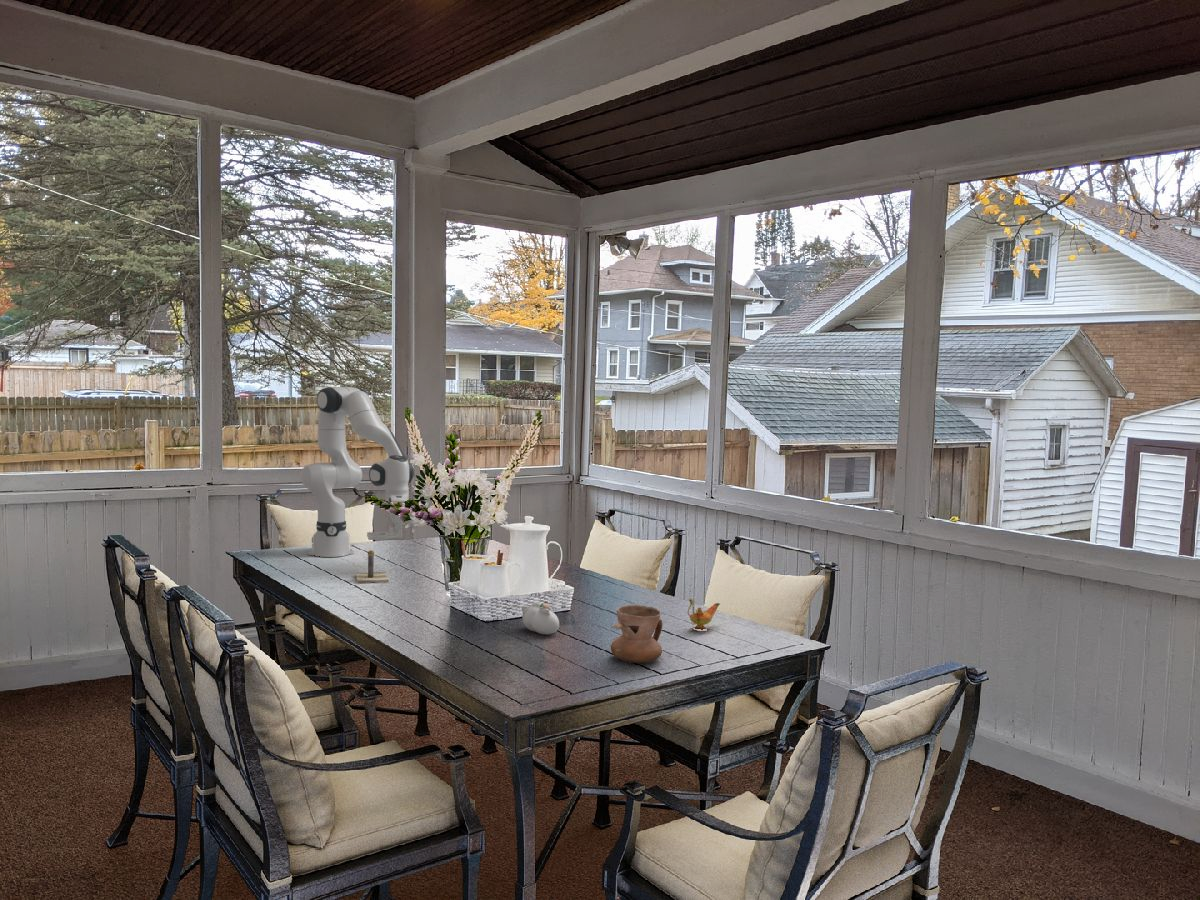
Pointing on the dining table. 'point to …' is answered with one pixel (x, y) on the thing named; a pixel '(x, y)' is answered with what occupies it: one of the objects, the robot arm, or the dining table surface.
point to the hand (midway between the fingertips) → (396, 532)
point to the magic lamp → (702, 615)
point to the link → (385, 534)
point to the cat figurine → (540, 618)
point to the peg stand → (371, 572)
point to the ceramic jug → (637, 634)
